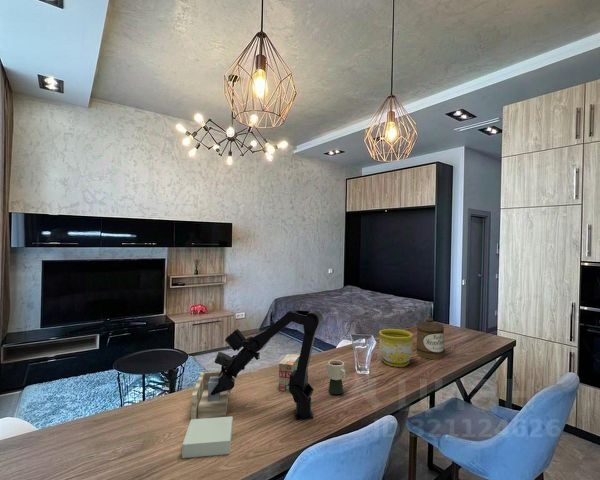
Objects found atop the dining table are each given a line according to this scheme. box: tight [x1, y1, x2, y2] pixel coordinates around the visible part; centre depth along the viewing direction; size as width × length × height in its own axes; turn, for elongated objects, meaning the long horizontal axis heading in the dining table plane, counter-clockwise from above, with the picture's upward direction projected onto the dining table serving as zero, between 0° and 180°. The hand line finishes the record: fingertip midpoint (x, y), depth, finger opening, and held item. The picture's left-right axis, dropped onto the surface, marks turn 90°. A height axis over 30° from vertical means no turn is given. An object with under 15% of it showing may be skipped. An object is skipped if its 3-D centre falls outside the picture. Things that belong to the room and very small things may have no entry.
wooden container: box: [416, 317, 445, 360], centre depth 187 cm, size 15×15×22 cm
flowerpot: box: [378, 328, 414, 368], centre depth 174 cm, size 18×18×16 cm
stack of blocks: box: [278, 353, 300, 393], centre depth 149 cm, size 21×6×12 cm, turn 165°
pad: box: [181, 416, 234, 459], centre depth 103 cm, size 14×14×4 cm
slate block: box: [208, 376, 220, 402], centre depth 125 cm, size 6×4×7 cm, turn 9°
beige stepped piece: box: [190, 370, 232, 420], centre depth 127 cm, size 22×13×9 cm, turn 9°
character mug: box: [326, 359, 346, 395], centre depth 138 cm, size 11×7×13 cm, turn 38°
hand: (212, 389), depth 125 cm, fingers open, 9 cm apart
